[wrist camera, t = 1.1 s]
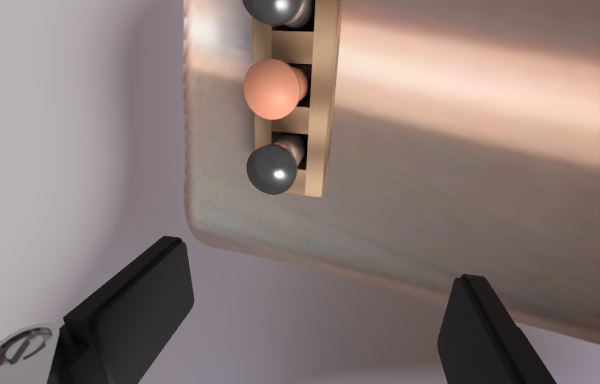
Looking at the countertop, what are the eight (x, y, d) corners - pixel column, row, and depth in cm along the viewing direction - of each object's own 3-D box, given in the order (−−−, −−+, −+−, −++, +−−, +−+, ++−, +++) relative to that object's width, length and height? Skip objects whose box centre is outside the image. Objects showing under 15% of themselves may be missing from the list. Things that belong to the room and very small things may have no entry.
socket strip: (270, -43, 26) (250, -66, 21) (347, -44, 25) (342, -69, 20) (270, 173, 35) (256, 188, 30) (327, 179, 33) (321, 197, 29)
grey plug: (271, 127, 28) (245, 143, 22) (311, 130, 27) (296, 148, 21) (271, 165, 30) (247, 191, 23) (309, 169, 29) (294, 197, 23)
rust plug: (271, 59, 25) (242, 57, 19) (316, 61, 25) (299, 60, 19) (271, 106, 27) (244, 117, 21) (313, 109, 26) (297, 121, 20)
